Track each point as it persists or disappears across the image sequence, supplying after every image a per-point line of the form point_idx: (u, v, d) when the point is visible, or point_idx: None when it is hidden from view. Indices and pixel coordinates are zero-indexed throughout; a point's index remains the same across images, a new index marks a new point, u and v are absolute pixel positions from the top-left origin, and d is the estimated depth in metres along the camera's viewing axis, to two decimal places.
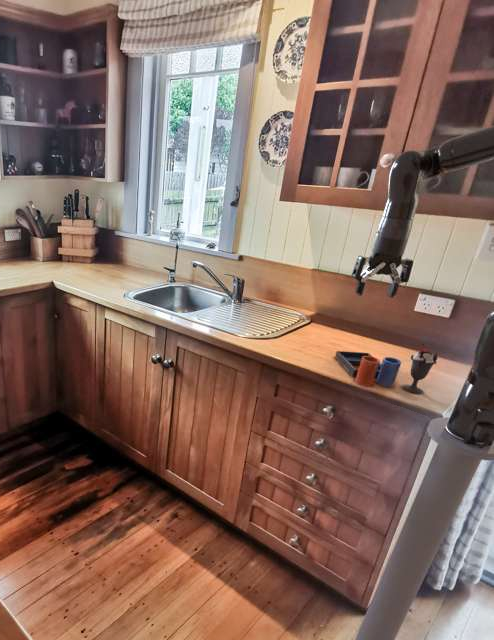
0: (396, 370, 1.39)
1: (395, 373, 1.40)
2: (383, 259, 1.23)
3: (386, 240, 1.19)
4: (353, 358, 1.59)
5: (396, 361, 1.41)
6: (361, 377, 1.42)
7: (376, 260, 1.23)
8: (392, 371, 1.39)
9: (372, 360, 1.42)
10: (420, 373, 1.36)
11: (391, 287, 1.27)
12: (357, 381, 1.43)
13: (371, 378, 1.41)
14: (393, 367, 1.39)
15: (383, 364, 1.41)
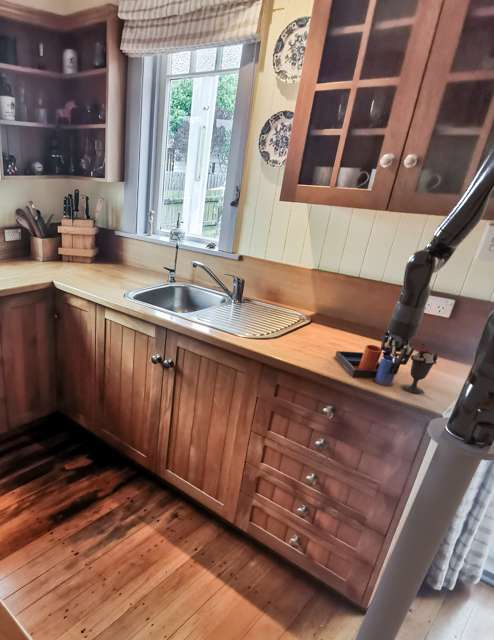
0: None
1: None
2: None
3: None
4: (353, 358, 1.59)
5: None
6: (363, 365, 1.48)
7: None
8: None
9: (375, 349, 1.47)
10: (420, 373, 1.36)
11: None
12: None
13: (373, 366, 1.47)
14: None
15: (381, 362, 1.42)
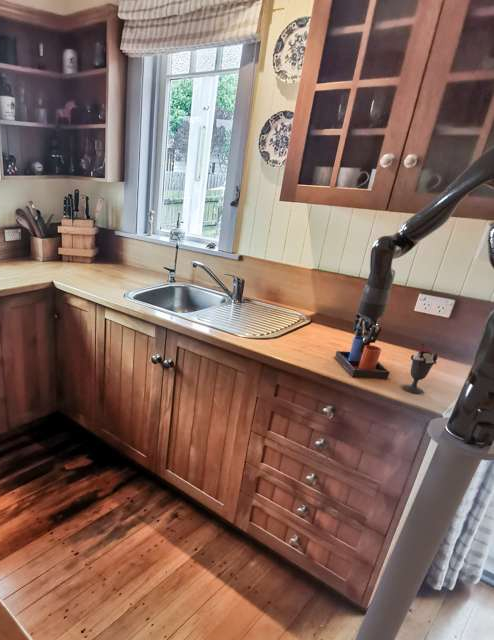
0: None
1: None
2: None
3: (385, 305, 1.45)
4: None
5: None
6: (363, 365, 1.48)
7: None
8: None
9: (374, 349, 1.48)
10: (420, 373, 1.36)
11: None
12: None
13: (373, 366, 1.47)
14: None
15: (353, 342, 1.53)
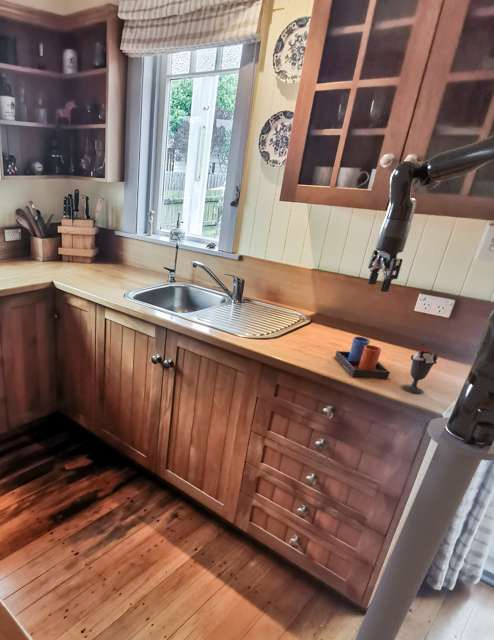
0: None
1: None
2: None
3: (406, 239, 1.37)
4: None
5: (366, 340, 1.54)
6: (363, 365, 1.48)
7: None
8: (361, 349, 1.52)
9: (374, 349, 1.48)
10: (420, 373, 1.36)
11: (374, 276, 1.48)
12: None
13: (373, 366, 1.47)
14: (362, 345, 1.51)
15: (353, 343, 1.53)
